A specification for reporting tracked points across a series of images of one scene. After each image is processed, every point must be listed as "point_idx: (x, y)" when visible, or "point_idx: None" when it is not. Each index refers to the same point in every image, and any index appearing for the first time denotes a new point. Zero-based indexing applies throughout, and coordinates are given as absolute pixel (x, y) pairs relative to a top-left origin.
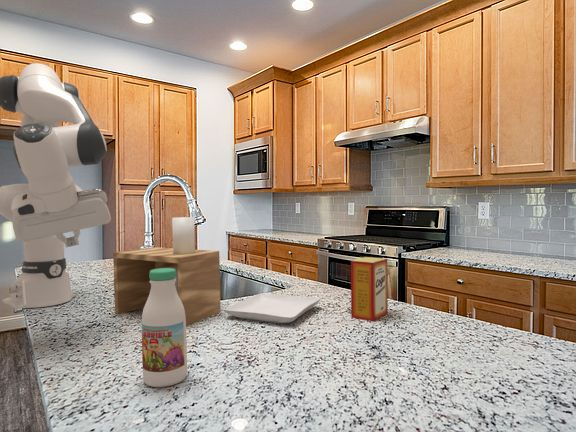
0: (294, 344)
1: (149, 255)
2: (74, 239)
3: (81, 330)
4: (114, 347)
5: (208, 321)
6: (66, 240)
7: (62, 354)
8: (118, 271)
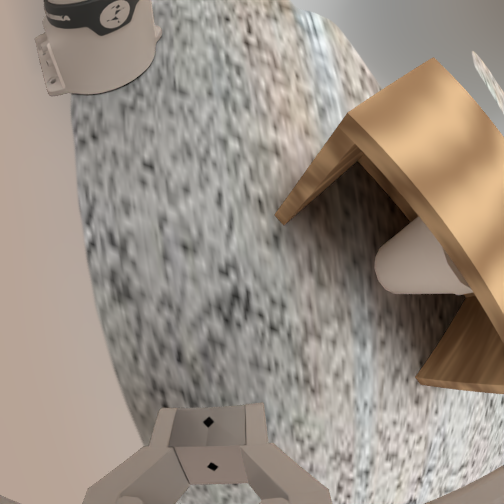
0: None
1: (493, 297)
2: (252, 488)
3: (210, 342)
4: None
5: None
6: (184, 483)
7: (206, 491)
8: (334, 168)
